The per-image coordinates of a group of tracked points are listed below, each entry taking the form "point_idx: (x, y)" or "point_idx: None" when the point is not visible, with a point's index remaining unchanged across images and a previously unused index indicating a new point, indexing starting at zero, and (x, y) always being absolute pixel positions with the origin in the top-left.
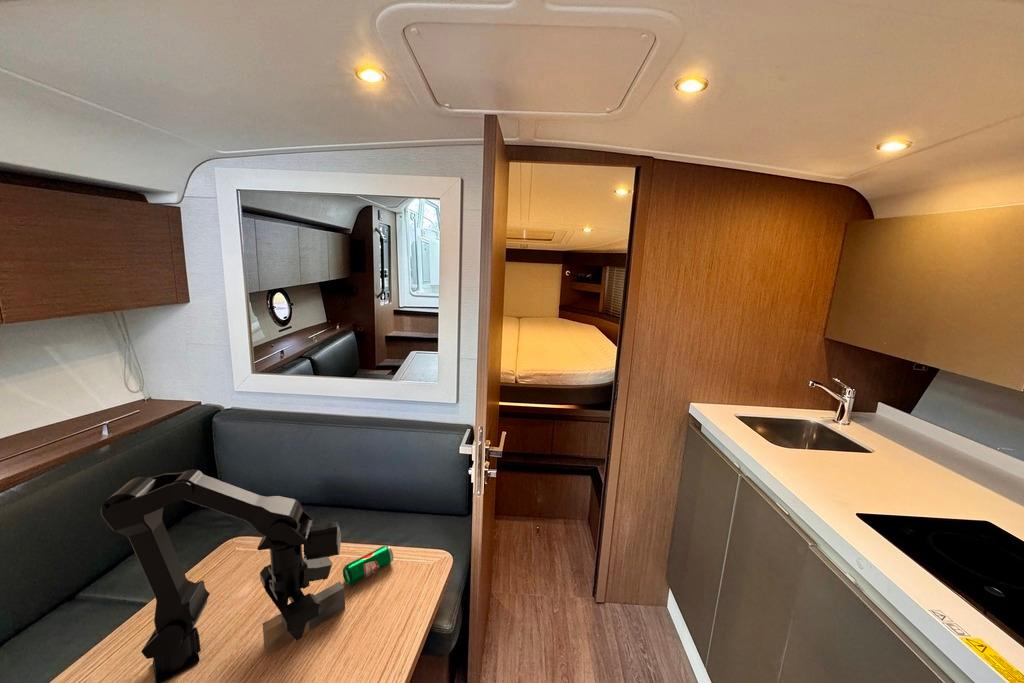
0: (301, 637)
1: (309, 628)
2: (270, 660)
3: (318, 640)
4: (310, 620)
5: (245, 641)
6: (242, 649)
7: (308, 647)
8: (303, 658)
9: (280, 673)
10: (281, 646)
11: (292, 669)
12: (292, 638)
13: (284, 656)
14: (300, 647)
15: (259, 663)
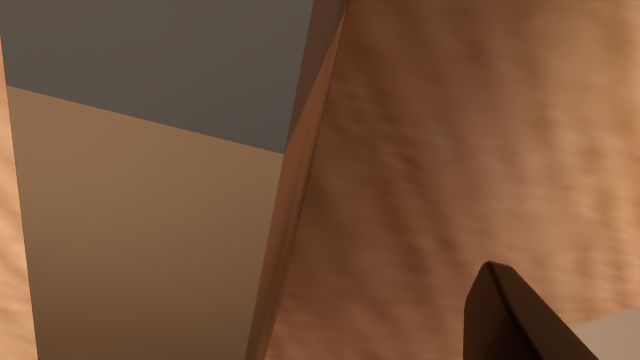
0: (511, 271)
1: (344, 8)
2: (327, 320)
3: (553, 19)
4: (336, 16)
5: (31, 309)
6: None
7: (515, 125)
8: (567, 211)
9: None
10: (292, 246)
11: (557, 299)
12: (307, 176)
13: (390, 265)
14: (439, 162)
15: (285, 355)
